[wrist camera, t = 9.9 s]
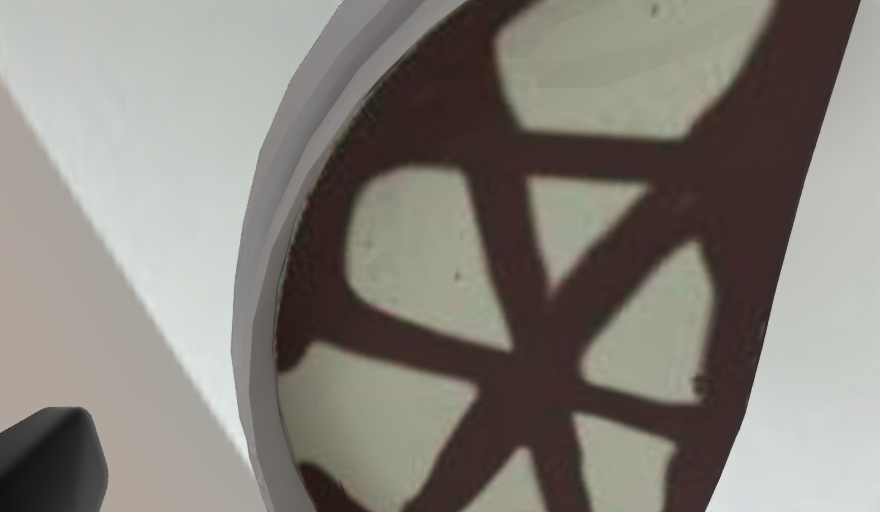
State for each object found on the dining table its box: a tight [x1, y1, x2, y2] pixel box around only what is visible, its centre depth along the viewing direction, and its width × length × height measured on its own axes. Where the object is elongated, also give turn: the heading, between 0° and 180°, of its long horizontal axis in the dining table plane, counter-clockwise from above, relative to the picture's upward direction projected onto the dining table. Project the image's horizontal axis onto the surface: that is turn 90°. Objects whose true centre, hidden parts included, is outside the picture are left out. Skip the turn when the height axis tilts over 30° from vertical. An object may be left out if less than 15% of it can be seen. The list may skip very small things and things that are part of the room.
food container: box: [231, 0, 861, 512], centre depth 13 cm, size 12×6×10 cm, turn 175°
